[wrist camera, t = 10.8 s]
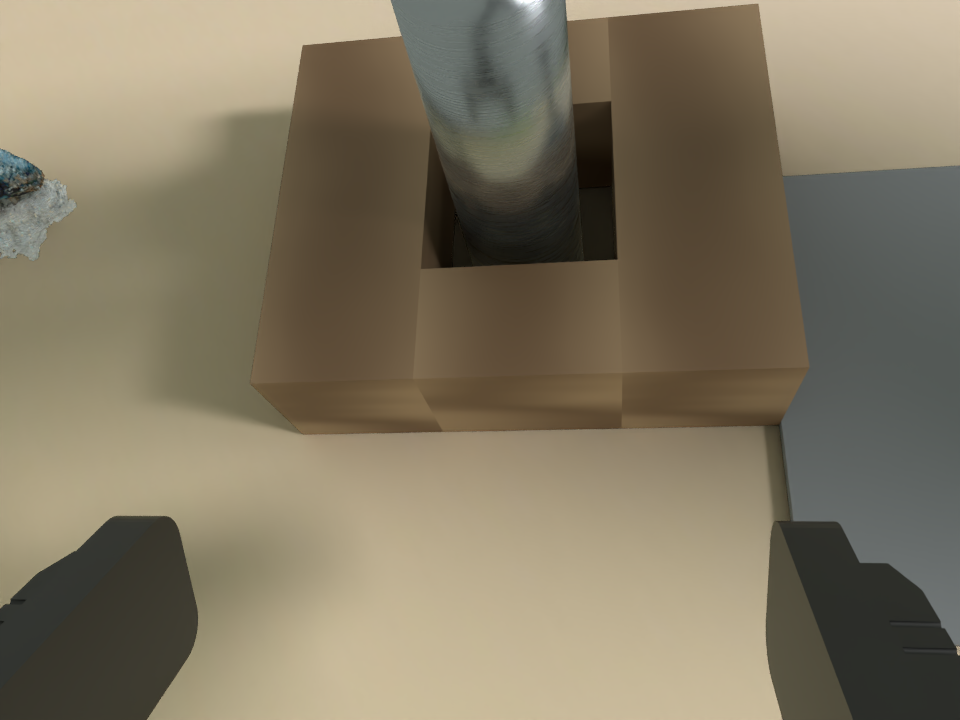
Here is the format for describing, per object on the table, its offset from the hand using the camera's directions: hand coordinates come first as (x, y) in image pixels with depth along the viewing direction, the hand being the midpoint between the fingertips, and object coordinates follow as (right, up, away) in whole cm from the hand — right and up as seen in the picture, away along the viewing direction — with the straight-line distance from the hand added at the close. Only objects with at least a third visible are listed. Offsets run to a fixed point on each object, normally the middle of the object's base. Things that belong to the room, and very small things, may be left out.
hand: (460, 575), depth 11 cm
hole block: (+2, +6, +12) cm, 13 cm away
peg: (+2, +6, +12) cm, 13 cm away
